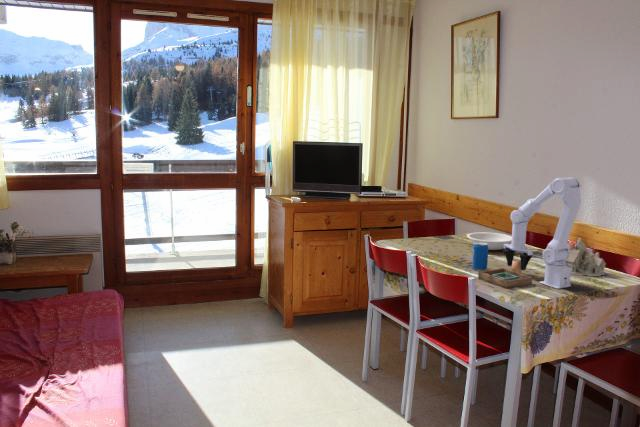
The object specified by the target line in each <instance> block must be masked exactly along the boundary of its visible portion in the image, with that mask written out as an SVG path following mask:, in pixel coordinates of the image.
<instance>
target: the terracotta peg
mask: <svg viewBox="0 0 640 427" xmlns="http://www.w3.org/2000/svg"><path fill="white" fill-rule="evenodd" d="M511 271H514V272H517V273H520V274H522V270H521V259H513V260H512V266H511Z"/></svg>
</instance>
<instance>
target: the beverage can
mask: <svg viewBox="0 0 640 427" xmlns="http://www.w3.org/2000/svg"><path fill="white" fill-rule="evenodd" d="M472 245H473V246H472V262H471V264H472V265H471V266H472V267H471V268H472V269H473V270H474V271H476V270H477V272H480V271H487V270H488V261H489V260H488V259H489V257H488V256H489V250H488V245H487V243H484V242H475V243H474V244H472Z"/></svg>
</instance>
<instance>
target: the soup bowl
mask: <svg viewBox="0 0 640 427" xmlns="http://www.w3.org/2000/svg"><path fill="white" fill-rule="evenodd" d="M466 238H468V239H469V240H470V242H471V243H472V245H474V243H475V242H484V243H487V245H488V251H499V250H504V244H511V241H512V235H509V234H505V233H500V232H485V231H484V232H483V231H482V232H481V231H479V232H471V233H468V234H467V235H466Z"/></svg>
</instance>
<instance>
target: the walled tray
mask: <svg viewBox="0 0 640 427" xmlns="http://www.w3.org/2000/svg"><path fill="white" fill-rule="evenodd" d="M477 279H479V280H481V281H483V280H484V281H483V282H486V283H489V284H492V285H495V286H498V287H500V288H503V289H506V290H508V289H512V288H519V287H523V286H525V287H526V286H530V285H532V284H533V276H530V275H527V274H525V273H524V274H523V273H521V274H520V273H517V272H514V271H512V269H507V268H504V267H501V268H496V269H486V270H485V271H478V276H477Z"/></svg>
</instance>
